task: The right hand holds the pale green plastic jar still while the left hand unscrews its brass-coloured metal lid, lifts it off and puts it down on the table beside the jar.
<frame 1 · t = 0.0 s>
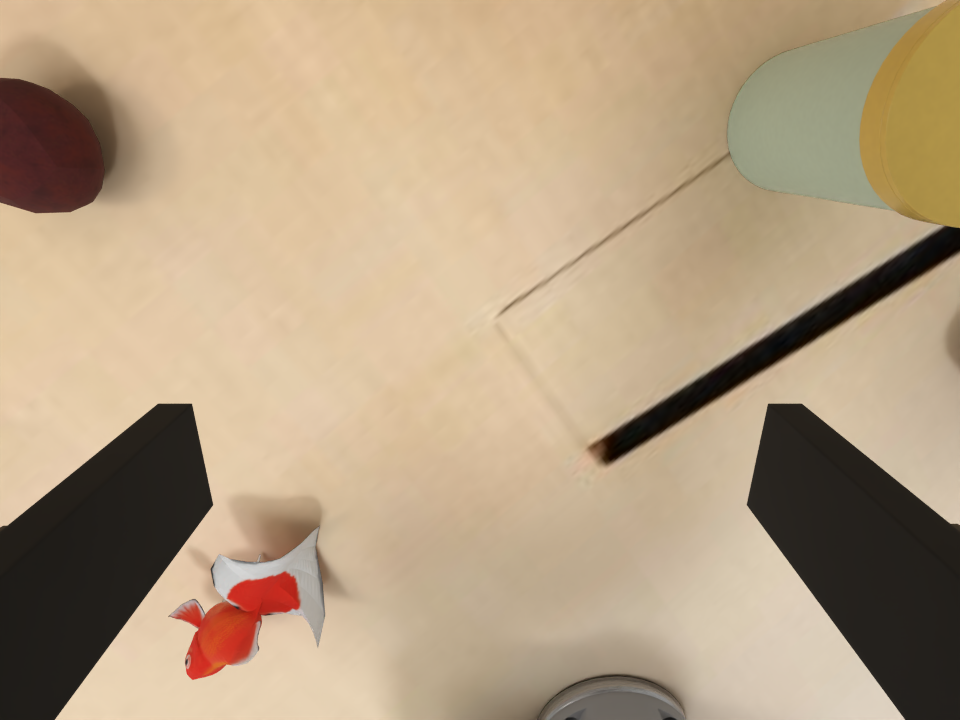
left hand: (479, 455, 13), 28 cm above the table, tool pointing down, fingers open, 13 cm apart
jar: (793, 122, 36), on the table
potato: (73, 150, 37), on the table
fish: (270, 565, 49), on the table
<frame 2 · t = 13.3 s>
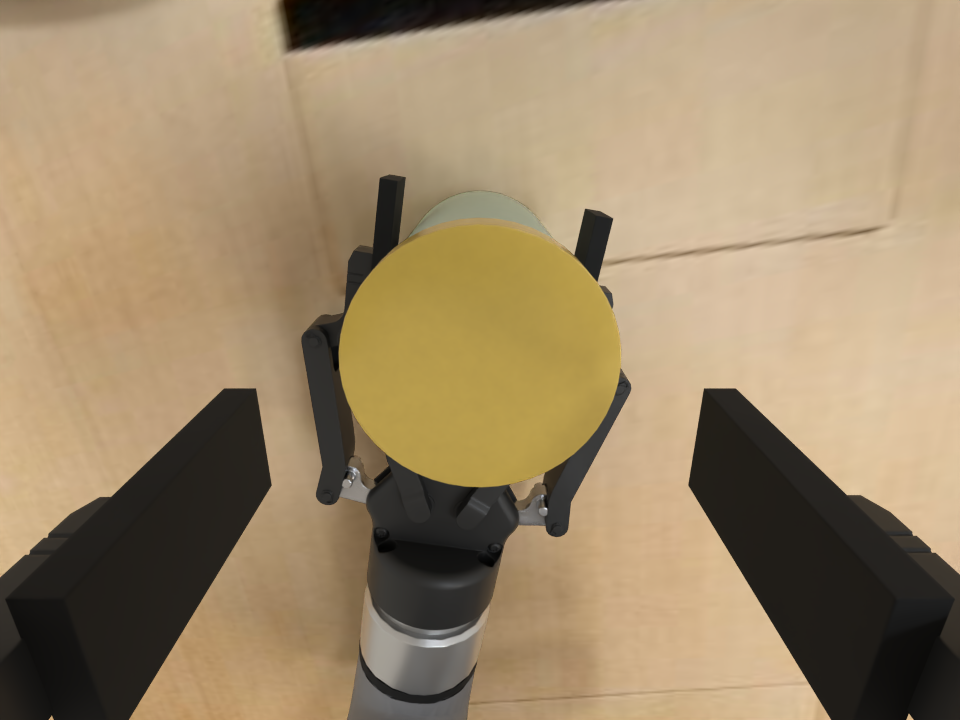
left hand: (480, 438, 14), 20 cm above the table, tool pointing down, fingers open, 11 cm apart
right hand: (496, 196, 25), fingers closed on jar, 9 cm apart
jar: (480, 267, 32), on the table, touching right hand
lid: (479, 364, 18), point 15 cm above the table, screwed on, not yet turned
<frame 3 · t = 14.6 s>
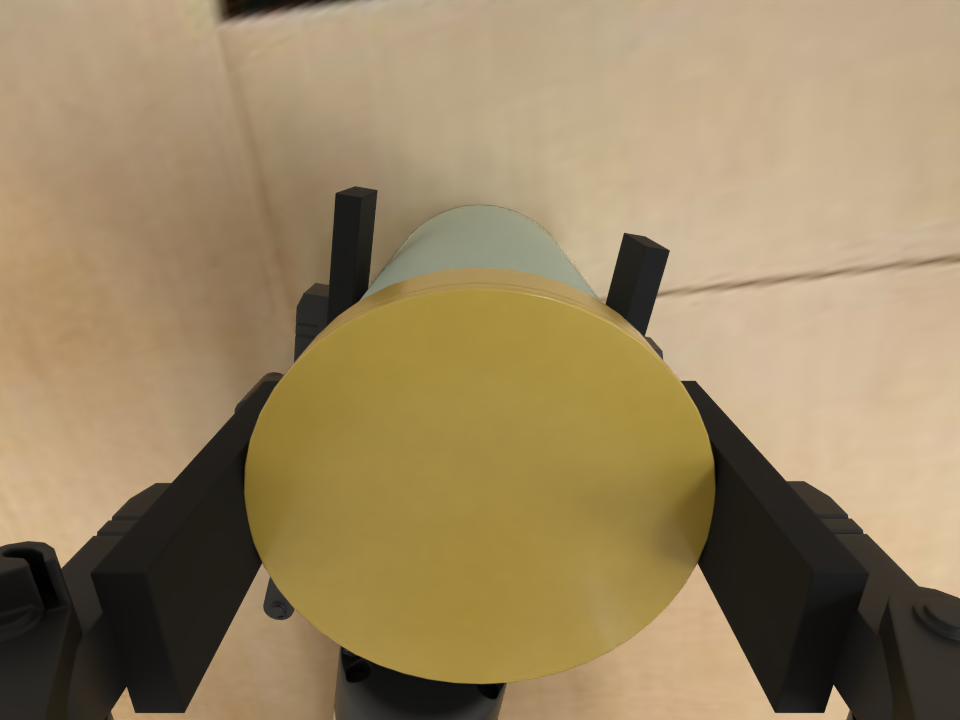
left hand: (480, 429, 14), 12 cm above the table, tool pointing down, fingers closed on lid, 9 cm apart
jar: (480, 301, 25), on the table, touching right hand
lid: (479, 506, 11), point 15 cm above the table, screwed on, not yet turned, touching left hand
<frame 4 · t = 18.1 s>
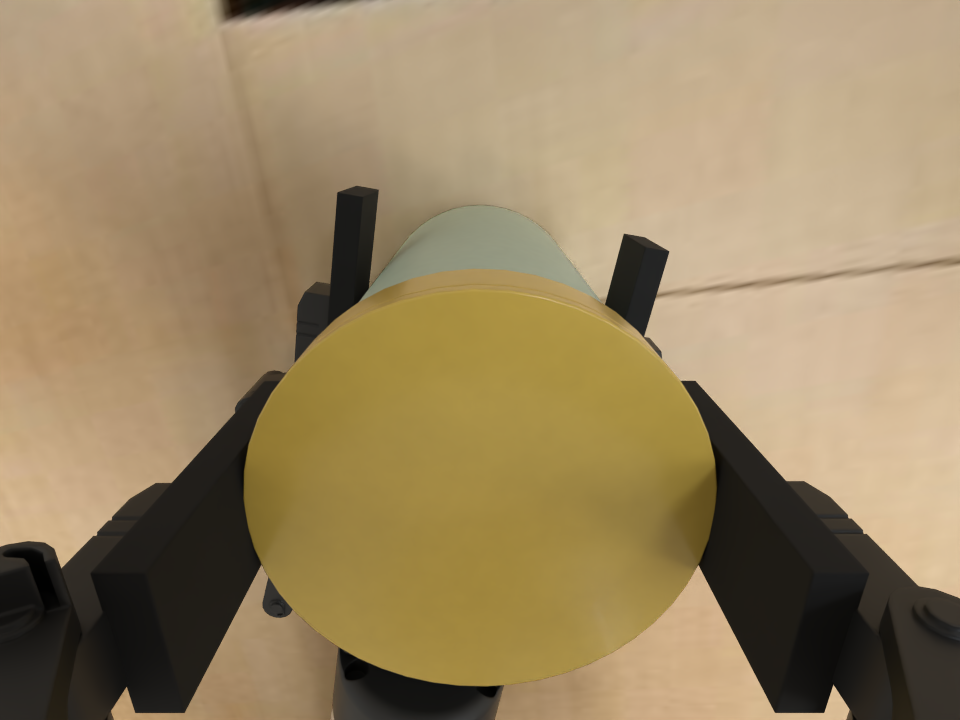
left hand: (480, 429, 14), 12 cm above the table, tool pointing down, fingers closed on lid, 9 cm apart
jar: (479, 301, 25), on the table, touching right hand
lid: (480, 507, 11), point 15 cm above the table, turned 106° so far, risen 0.1 cm, still on its thread, touching left hand
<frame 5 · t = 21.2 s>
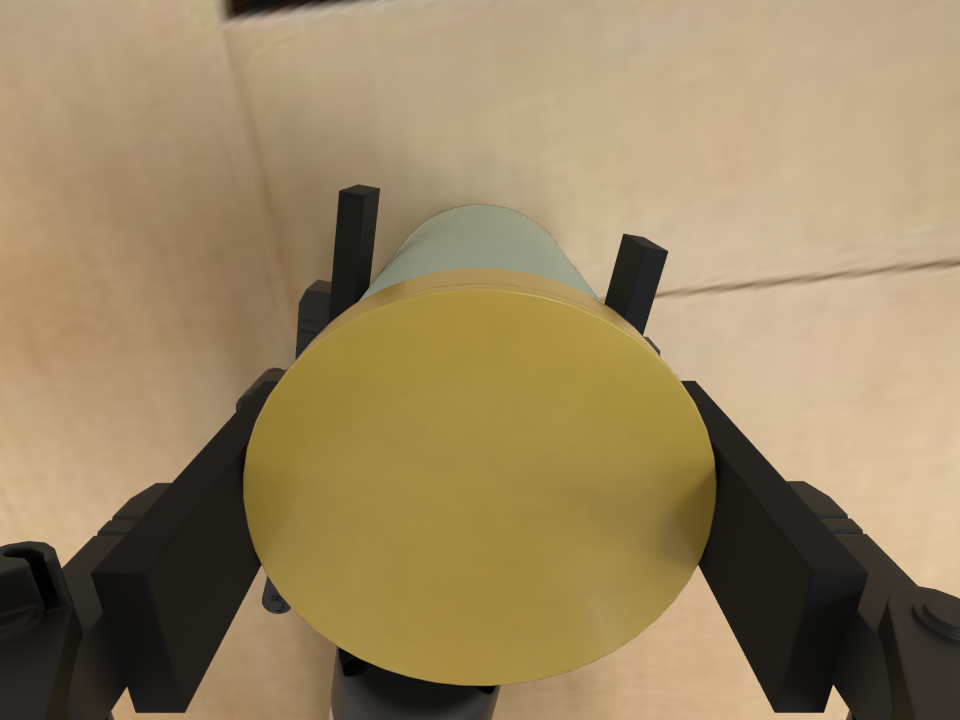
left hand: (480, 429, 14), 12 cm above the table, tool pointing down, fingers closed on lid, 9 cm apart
jar: (479, 300, 26), on the table, touching right hand
lid: (479, 507, 11), point 16 cm above the table, turned 213° so far, risen 0.3 cm, still on its thread, touching left hand
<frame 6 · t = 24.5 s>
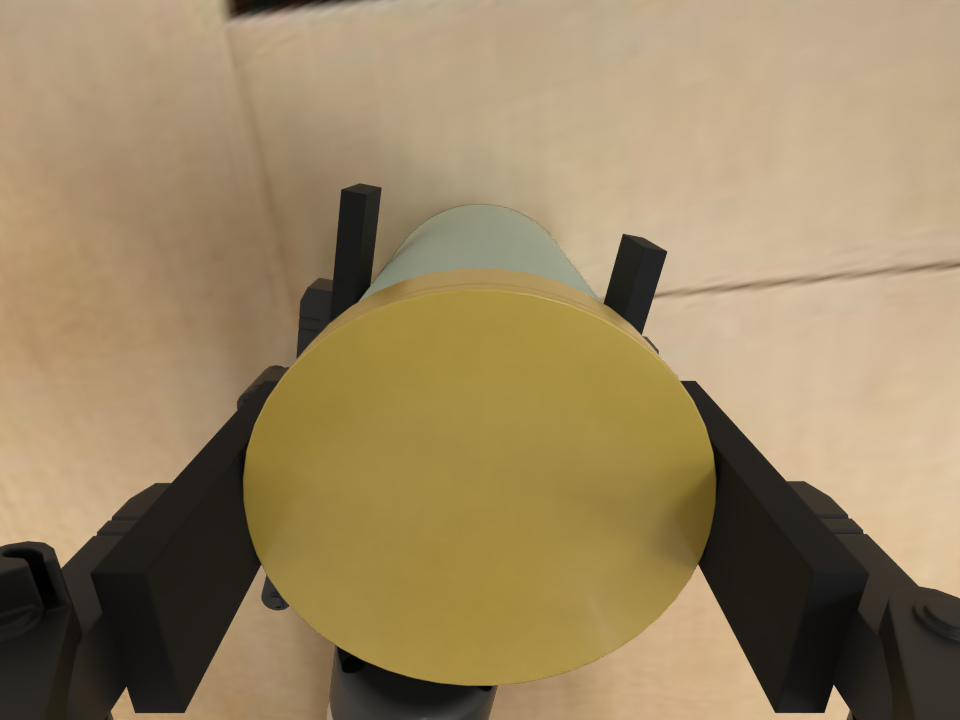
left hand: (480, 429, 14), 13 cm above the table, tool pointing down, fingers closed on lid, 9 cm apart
jar: (479, 299, 26), on the table, touching right hand
lid: (479, 507, 11), point 16 cm above the table, turned 319° so far, risen 0.4 cm, still on its thread, touching left hand
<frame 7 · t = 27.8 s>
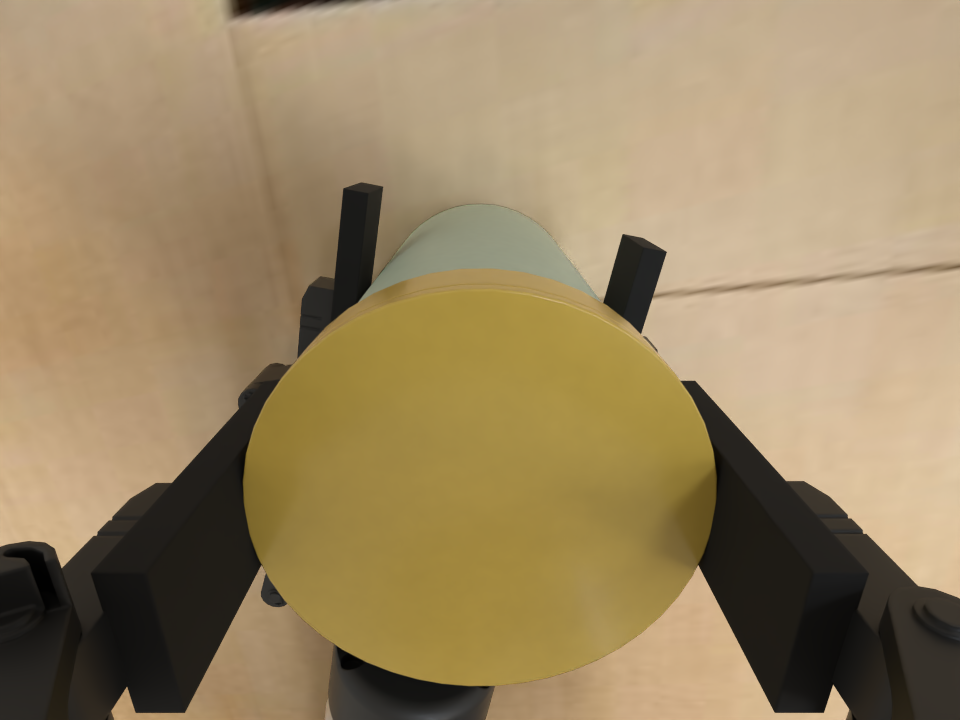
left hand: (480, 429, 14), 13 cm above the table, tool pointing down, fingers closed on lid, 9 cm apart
jar: (479, 299, 26), on the table, touching right hand
lid: (480, 507, 11), point 16 cm above the table, turned 425° so far, risen 0.5 cm, still on its thread, touching left hand
when the left hand's fingers open (0 cm above the table, at t = 34.1 s): lid drops 2 cm, point 1 cm above the table.
when the right hand's fingers open (6 cm above the table, at t = 35.1 s): jar stays where it is, on the table.
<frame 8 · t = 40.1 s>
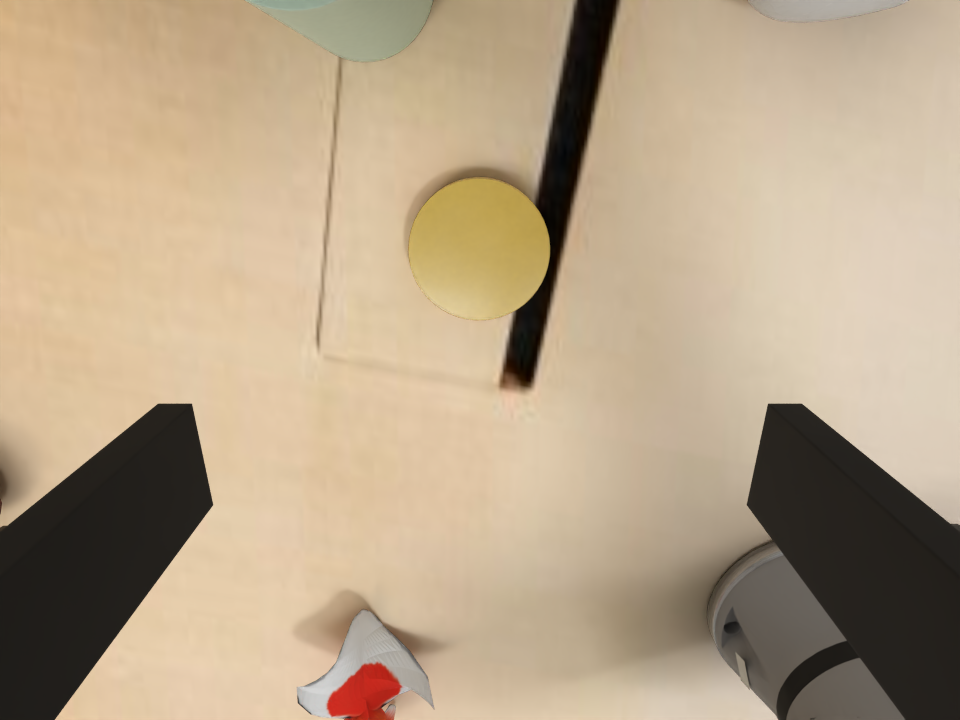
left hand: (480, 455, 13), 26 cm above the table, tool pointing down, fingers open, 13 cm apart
lid: (479, 251, 36), point 1 cm above the table, off its thread
fish: (369, 661, 51), on the table
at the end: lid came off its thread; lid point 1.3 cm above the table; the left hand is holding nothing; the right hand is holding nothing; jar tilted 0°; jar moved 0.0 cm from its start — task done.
